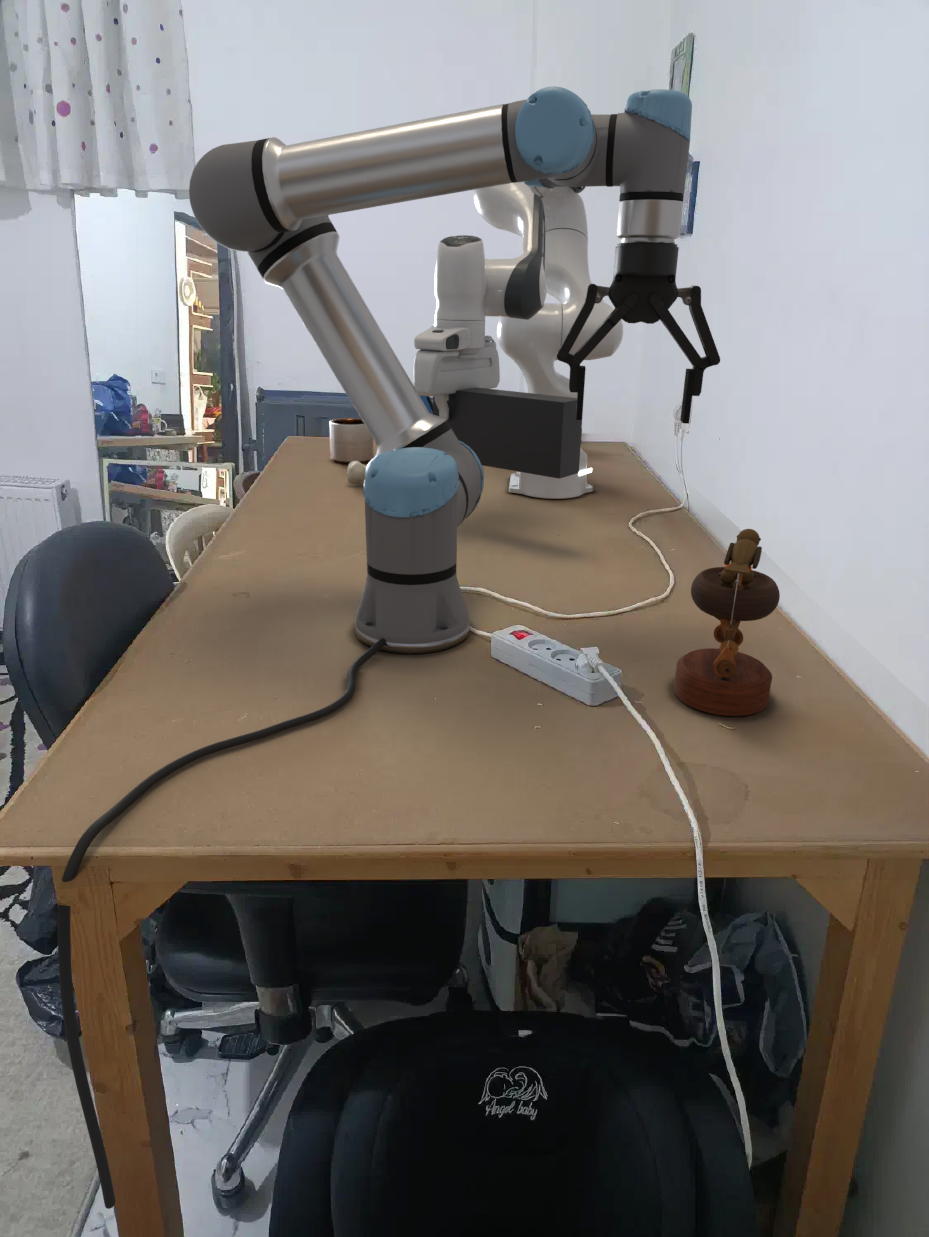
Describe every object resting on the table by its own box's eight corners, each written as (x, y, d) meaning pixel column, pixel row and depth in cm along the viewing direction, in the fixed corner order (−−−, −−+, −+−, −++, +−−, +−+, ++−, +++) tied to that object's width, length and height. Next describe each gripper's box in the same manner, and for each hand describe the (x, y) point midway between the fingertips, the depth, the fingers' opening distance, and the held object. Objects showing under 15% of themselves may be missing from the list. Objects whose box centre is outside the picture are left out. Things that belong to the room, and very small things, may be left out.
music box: (786, 726, 90) (801, 547, 83) (681, 727, 92) (686, 551, 84) (757, 665, 104) (767, 507, 97) (666, 666, 106) (669, 511, 98)
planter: (327, 456, 217) (325, 418, 214) (369, 454, 220) (368, 417, 217) (334, 465, 208) (332, 425, 204) (377, 463, 211) (376, 424, 207)
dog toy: (434, 479, 195) (434, 457, 194) (437, 485, 190) (437, 463, 188) (346, 480, 192) (345, 459, 190) (347, 487, 187) (346, 464, 185)
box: (578, 473, 143) (583, 398, 139) (559, 478, 139) (563, 402, 134) (453, 452, 159) (454, 385, 155) (432, 456, 155) (432, 387, 150)
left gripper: (746, 244, 104) (724, 418, 112) (544, 241, 106) (536, 412, 115) (760, 242, 97) (735, 428, 105) (543, 239, 100) (534, 421, 108)
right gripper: (481, 334, 157) (480, 410, 162) (407, 338, 142) (407, 422, 147) (509, 336, 153) (506, 413, 158) (435, 340, 138) (435, 426, 143)
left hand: (631, 420), depth 110 cm, fingers open, 13 cm apart
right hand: (458, 417), depth 152 cm, fingers closed on box, 6 cm apart
